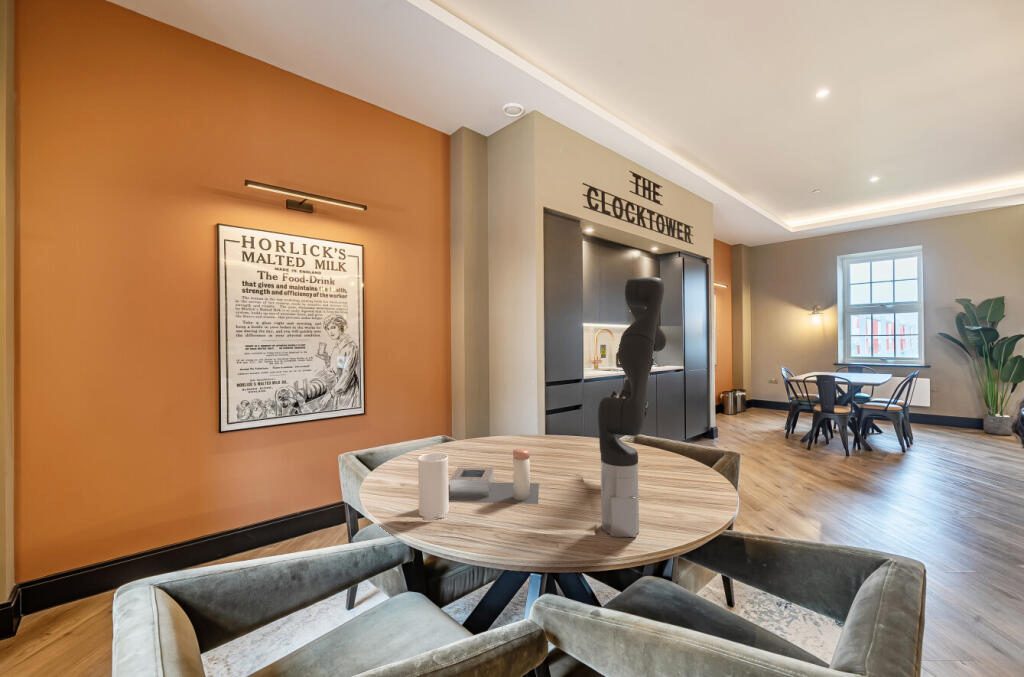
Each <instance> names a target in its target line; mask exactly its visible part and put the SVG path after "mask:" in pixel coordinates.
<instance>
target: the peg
mask: <svg viewBox="0 0 1024 677" xmlns="http://www.w3.org/2000/svg"><path fill="white" fill-rule="evenodd" d="M530 457H531V456H530V449H528V448H516V449H513V450H512V472H513V474H512V478H513V479H512V480H513V482H512V483H513V494H514V499H516V500H520V501H524V500H528V499H530V483H531V470H530V469H531V463H530V462H531V460H530V459H531V458H530Z"/></svg>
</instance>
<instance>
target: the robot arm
mask: <svg viewBox="0 0 1024 677" xmlns="http://www.w3.org/2000/svg"><path fill="white" fill-rule="evenodd" d="M664 293H665V284H664V281H663V279H661V278H660V277H653V276H652V277H649V276H647V277H646V276H644V277H643V276H641V277H640V276H637V277H630V278H629V279H628V280H627V281H626V284H625V288H624V299H625V303H626V305H627V307H628V309H629V311H630V313H631V315H632V317H633V318H634V320H635V321H634V322H632V323H631V324H629V326H628V327H627V328H626V329H625V331H623V333H622V334H621V337H620V340H619V344H618V345H619V347H618V350H617V359H618V364H619V365H620V367H621V368H622V371H623V372H624V374H625V380H624V383H623V385H622V389H621V392H620V393H619V392H616V391H612V393H611V395H610V396H609V397H608V396H607V397H603V398H602V399H601V400H600V402H599V404H598V409H597V425H598V439H599V442H598V443H599V452H600V486H601V487H600V494H601V495H600V496H601V497H600V498H601V502H600V504H601V505H600V510H601V512H600V513H601V529H602V530H603V531H604V532H605V533H607V534H609V535H610V537H617V538H618V537H621V538H623V537H624V538H637V535H638V534H639V532H640V504H639V502H640V501H639V500H640V499H639V498H640V496H639V491H640V490H639V454H638V450H636V449H635V448H634V447H632V446H630V445H628V444H626V443H625V442H623V441H622V440H621V439H620V438H619V437H618V436H617V435H622V436H627V437H628V436H629V437H630V436H631V437H638V436H639V435H640V434H641V433H642V431H643V428H644V422H645V419H646V416H647V413H648V410H649V406H650V404H649V402H648V401H647V389H648V382H649V378H650V374H651V370H652V368H653V365H654V358H653V355H654V352H656V353H658V352H661V351H663V350H664V349H665V347H666V344H667V338H666V334H665V333H664V331H663V330H662V329H661V327H660V323H659V316H660V311H661V308H662V304H663V300H664Z"/></svg>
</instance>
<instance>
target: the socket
mask: <svg viewBox="0 0 1024 677" xmlns="http://www.w3.org/2000/svg"><path fill="white" fill-rule="evenodd" d="M494 469H495V468H494V467H461V466H460V467H457V468H456V470H455V471H454V472H453V474H452V476H451V477H450V478H449V492H450V496H477V497H489V495H490V492H491V489H492V487H493V484H494V482H495V481H494V480H495V478H494V477H495V476H494V472H495V471H494Z"/></svg>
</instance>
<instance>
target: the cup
mask: <svg viewBox="0 0 1024 677" xmlns="http://www.w3.org/2000/svg"><path fill="white" fill-rule="evenodd" d="M417 460H418V461H417V462H418V466H417V467H418V468H417V471H418V473H417V474H418V475H417V476H418V478H417V480H418V485H417V486H418V514H419V515H420V516H419V517H420V518H422V519H424V520H423V521H426V520H436V521H440V520H443V519H442V518H443V517H442V516H444V515H446V514H447V513H449V510H450V508H449V505H450V504H449V503H450V502H449V492H450V489H449V455H448V454H446V453H443V452H442V453H441V452H439V453H438V452H434V453H433V452H432V453H425V454H422V455H420V456H418V458H417ZM420 518H419V519H420ZM422 519H421V520H422ZM439 519H440V520H439Z"/></svg>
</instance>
